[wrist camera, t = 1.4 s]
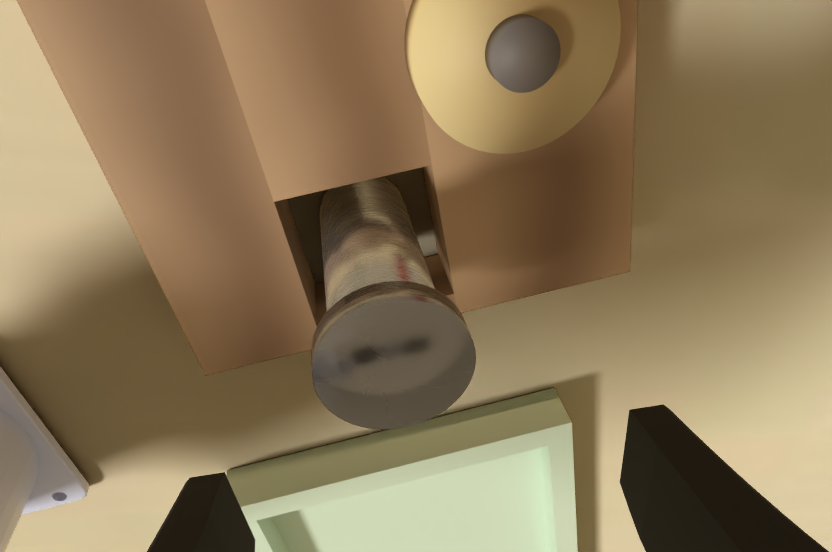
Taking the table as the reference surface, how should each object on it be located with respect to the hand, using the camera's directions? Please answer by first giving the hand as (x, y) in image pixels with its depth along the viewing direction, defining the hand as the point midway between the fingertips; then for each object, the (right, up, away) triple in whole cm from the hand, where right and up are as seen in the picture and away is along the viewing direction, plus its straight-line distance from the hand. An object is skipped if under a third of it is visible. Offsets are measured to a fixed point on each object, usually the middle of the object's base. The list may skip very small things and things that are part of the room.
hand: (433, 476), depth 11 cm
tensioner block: (-2, +8, +7) cm, 11 cm away
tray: (0, -8, +18) cm, 20 cm away
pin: (-2, +6, +9) cm, 11 cm away
